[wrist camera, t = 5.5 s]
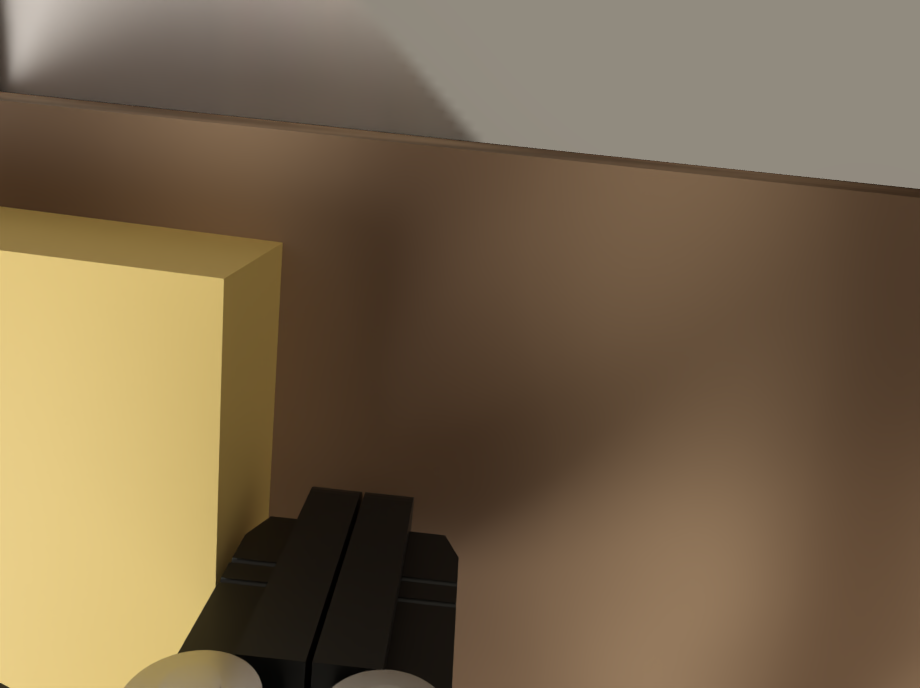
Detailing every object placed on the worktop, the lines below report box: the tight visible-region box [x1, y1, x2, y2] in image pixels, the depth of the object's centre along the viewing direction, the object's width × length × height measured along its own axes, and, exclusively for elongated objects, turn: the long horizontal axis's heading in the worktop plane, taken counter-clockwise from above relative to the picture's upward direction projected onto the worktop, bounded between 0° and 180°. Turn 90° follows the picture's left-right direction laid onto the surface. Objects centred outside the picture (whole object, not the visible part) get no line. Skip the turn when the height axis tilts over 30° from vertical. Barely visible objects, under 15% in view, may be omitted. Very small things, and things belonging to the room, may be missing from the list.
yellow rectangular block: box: [0, 206, 283, 688], centre depth 11 cm, size 6×9×2 cm, turn 173°
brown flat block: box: [0, 92, 920, 688], centre depth 14 cm, size 19×12×4 cm, turn 84°
